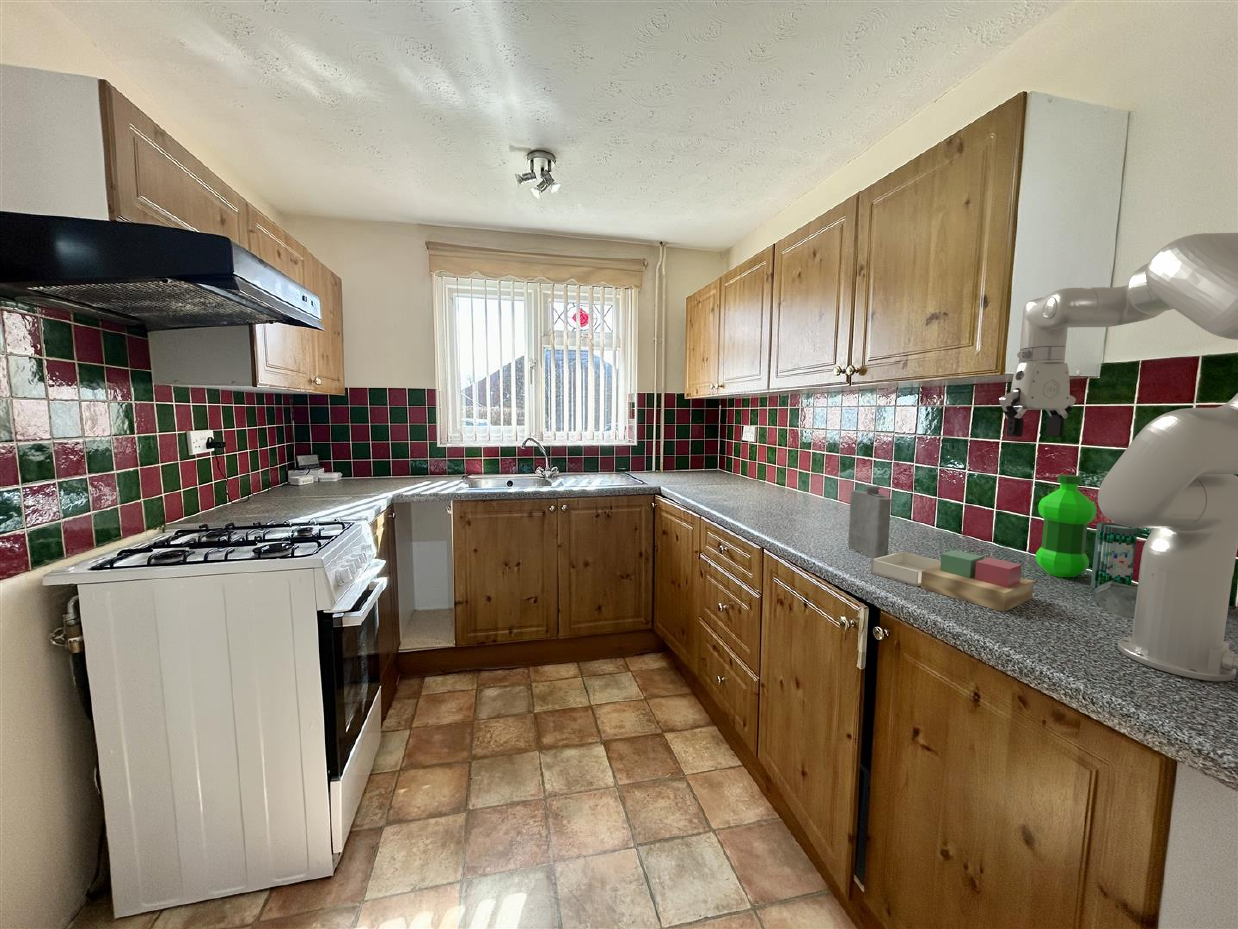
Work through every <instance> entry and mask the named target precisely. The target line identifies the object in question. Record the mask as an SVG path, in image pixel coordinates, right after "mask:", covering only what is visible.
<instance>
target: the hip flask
mask: <svg viewBox="0 0 1238 929" xmlns="http://www.w3.org/2000/svg"><path fill="white" fill-rule="evenodd" d="M864 486H865V487H864V488H865V489H866V490H865V491H863V490H860V489H859V490H855V489H851V490H850V497H849V498H850V500H849V520H848V524H849V525H848V538H847V540H848V542H847V548H848V547H849V548H851V549H854V550H856V551H858V552H862V553H863V554H865V555H867V556H868V557H867V556H866V557H867V558H869V557H870V558H872V559H875V558H879V557H883V556H887V555H889V554H888V553H889V537H890V524H891V523H890V521H891V507H892V506H891V505H892V498H890V497H888V496H886V495H884V494H881V493H880V491H879V490H880V489H881V488H880V487H881V486H880V485H874V484H872V485H871V484H870V485H868V484H867V485H864ZM856 551H855V552H856ZM858 552H857V553H858ZM863 554H862V555H863ZM865 555H864V556H865ZM870 558H869V559H870ZM872 559H871V560H872Z"/></svg>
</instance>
